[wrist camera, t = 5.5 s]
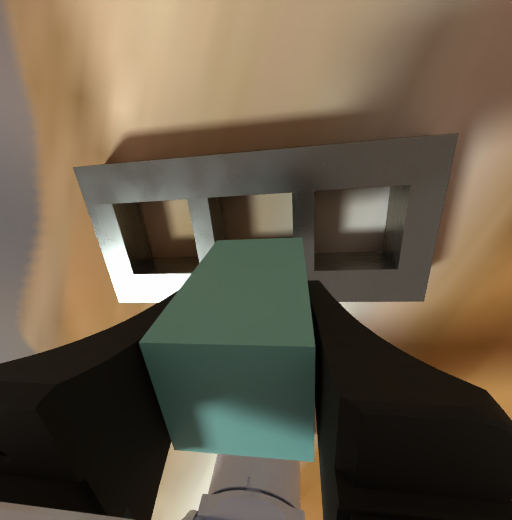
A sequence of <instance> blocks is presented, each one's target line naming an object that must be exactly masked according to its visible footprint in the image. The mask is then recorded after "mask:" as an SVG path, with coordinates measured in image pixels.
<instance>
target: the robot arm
mask: <svg viewBox="0 0 512 520" xmlns="http://www.w3.org/2000/svg"><path fill="white" fill-rule="evenodd" d="M307 281H308V289H309V298H310V306H311V315H312V323H313V331H314V340H315V409H316V422H317V435H318V449H319V462H320V476H321V491H322V505H323V520H512V420H511V419H510V418H509V417H508V415H507V414H506V413H505V411H504V410H503V409H502V408H501V407H500V405H499V404H498V403H497V402H496V401H495V400H494V399H493V397H492V396H491V395H490V394H489V393H488V392H487V391H486V390H484V389H482V388H480V387H477V386H475V385H473V384H470V383H468V382H466V381H463V380H461V379H459V378H456V377H454V376H452V375H449V374H447V373H445V372H442V371H440V370H438V369H436V368H434V367H432V366H430V365H428V364H426V363H424V362H422V361H420V360H418V359H416V358H414V357H413V356H411V355H409V354H407V353H405V352H403V351H402V350H400V349H398V348H397V347H395V346H393V345H392V344H390V343H389V342H387V341H385V340H384V339H382V338H381V337H379V336H378V335H376V334H375V333H373V332H372V331H371V330H369V329H368V328H367V327H365V326H364V325H363V324H361V323H360V322H359V321H358V320H356V319H355V318H354V317H353V316H352V315H351V314H350V313H349V312H348V311H346V310H345V309H344V308H343V307H342V306H341V304H340V303H339V302H338V301H337V300H336V299H335V298H334V297H333V296H332V295H331V294H330V292H329V291H328V290H327V289H326V288H325V286H324V285H323V284H322V283H321V282H320V281H319V280H307ZM178 291H179V290H178ZM178 291H176V292H175V293H173V294H172V295H170V296H168V297H167V298H165V299H163V300H162V301H160V302H159V303H157V304H155V305H153V306H152V307H150V308H148V309H146V310H145V311H143V312H141V313H139V314H137V315H136V316H134V317H132V318H130V319H128V320H126V321H124V322H121V323H119V324H117V325H115V326H113V327H111V328H108V329H106V330H104V331H101V332H99V333H96V334H94V335H91V336H88V337H86V338H83V339H81V340H78V341H75V342H73V343H70V344H67V345H64V346H61V347H58V348H55V349H51V350H48V351H45V352H42V353H38V354H35V355H32V356H28V357H24V358H20V359H16V360H12V361H9V362H5V363H1V364H0V520H151V517H152V513H153V509H154V505H155V501H156V497H157V493H158V489H159V485H160V481H161V477H162V473H163V470H164V466H165V462H166V459H167V455H168V451H169V448H170V444H171V438H170V435H169V432H168V429H167V426H166V423H165V420H164V417H163V414H162V411H161V408H160V405H159V402H158V399H157V396H156V393H155V390H154V387H153V384H152V381H151V378H150V375H149V372H148V369H147V366H146V363H145V360H144V357H143V354H142V351H141V348H140V345H139V342H140V340H141V339H142V338H143V336H144V335H145V334H146V332H147V331H148V330H149V329H150V327H151V326H152V325H153V323H154V322H155V321H156V319H157V318H158V317H159V315H160V314H161V313H162V312H163V310H164V309H165V308H166V306H167V305H168V304H169V302H170V301H171V300H172V299H173V297H174V296H175V295H176V293H177V292H178ZM182 520H305V512H304V510H301V503H300V467H299V461H297V460H285V459H274V458H262V457H250V456H239V455H227V454H217V458H216V463H215V467H214V471H213V475H212V480H211V484H210V488H209V492H208V494H203V495H202V498H201V502H200V506H199V510H198V511H196V510H190V511H189V512H188V513H187V515H186V516H185V517H184V518H183V519H182Z"/></svg>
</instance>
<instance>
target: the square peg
mask: <svg viewBox="0 0 512 520" xmlns="http://www.w3.org/2000/svg"><path fill="white" fill-rule="evenodd" d="M139 345H140V348H141V351H142V354H143V357H144V360H145V363H146V366H147V369H148V372H149V375H150V378H151V381H152V384H153V387H154V390H155V393H156V396H157V399H158V402H159V405H160V408H161V411H162V414H163V417H164V420H165V423H166V426H167V429H168V432H169V435H170V438H171V441H172V444H173V447H174V450H181V451H193V452H204V453H216V454H227V455H239V456H250V457H262V458H274V459H285V460H297V461H308V462H314V412H315V340H314V331H313V323H312V315H311V306H310V298H309V289H308V281H307V273H306V264H305V256H304V248H303V239H302V237H297V238H270V239H243V240H217V241H216V242H215V244H214V245H213V246H212V248H211V249H210V250H209V252H208V253H207V254H206V255H205V257H204V258H203V259H202V261H201V262H200V263H199V265H198V266H197V267H196V269H195V270H194V271H193V272H192V274H191V275H190V276H189V278H188V279H187V280H186V282H185V283H184V284H183V285H182V287H181V288H180V289H179V291H178V292H177V293H176V295H175V296H174V297H173V299H172V300H171V301H170V302H169V304H168V305H167V306H166V308H165V309H164V310H163V312H162V313H161V314H160V315H159V317H158V318H157V319H156V321H155V322H154V323H153V325H152V326H151V327H150V329H149V330H148V331H147V332H146V334H145V335H144V336H143V338H142V339H141V340H140V342H139Z"/></svg>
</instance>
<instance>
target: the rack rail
mask: <svg viewBox="0 0 512 520" xmlns="http://www.w3.org/2000/svg"><path fill="white" fill-rule="evenodd" d="M457 137H458V134H443V135H428V136H417V137H406V138H394V139H383V140H372V141H360V142H349V143H338V144H326V145H315V146H304V147H292V148H281V149H270V150H258V151H247V152H236V153H224V154H213V155H202V156H190V157H179V158H168V159H156V160H145V161H134V162H123V163H111V164H101V165H91V166H81V167H73V169H74V172H75V175H76V178H77V181H78V183H79V186H80V189H81V192H82V195H83V198H84V201H85V204H86V207H87V210H88V213H89V216H90V218H91V221H92V224H93V227H94V230H95V233H96V236H97V239H98V242H99V245H100V248H101V251H102V253H103V256H104V259H105V262H106V265H107V268H108V271H109V274H110V277H111V280H112V283H113V286H114V288H115V291H116V294H117V297H118V300H119V302H160V301H162V300H163V299H165V298H167V297H168V296H170V295H172V294H173V293H175V292H176V291H178V290H179V289H180V288H181V287H182V285H183V284H184V283H185V282H186V280H187V279H188V278H189V276H190V275H191V274H192V272H193V271H194V270H195V269H196V267H197V266H198V265H199V263H200V262H201V261H202V259H203V258H204V257H205V255H206V254H207V253H208V252H209V250H210V249H211V248H212V246H213V245H214V244H215V242H216V241H217V240H226V234H225V227H224V220H223V212H222V205H221V197H227V196H243V195H258V194H274V193H290V192H292V204H293V238H297V237H302V239H303V248H304V256H305V264H306V273H307V280H319V281H320V282H321V283H322V284H323V285H324V286H325V288H326V289H327V290H328V291H329V292H330V294H331V295H332V296H333V297H334V298H335V299H336V300H337V301H338V302H408V301H424V298H425V294H426V289H427V284H428V279H429V274H430V269H431V264H432V259H433V255H434V250H435V245H436V240H437V235H438V230H439V225H440V220H441V215H442V211H443V206H444V201H445V196H446V191H447V186H448V181H449V176H450V172H451V167H452V162H453V157H454V152H455V147H456V142H457ZM384 186H391V187H390V195H389V204H388V212H387V220H386V229H385V237H384V245H383V252H352V253H318V254H314V225H315V191H321V190H337V189H353V188H368V187H384ZM180 199H188V205H189V210H190V215H191V221H192V226H193V231H194V237H195V242H196V248H197V253H198V257H182V258H153V256H152V252H151V249H150V245H149V241H148V237H147V233H146V229H145V226H144V222H143V218H142V214H141V210H140V206H139V203H138V202H148V201H164V200H180Z"/></svg>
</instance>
